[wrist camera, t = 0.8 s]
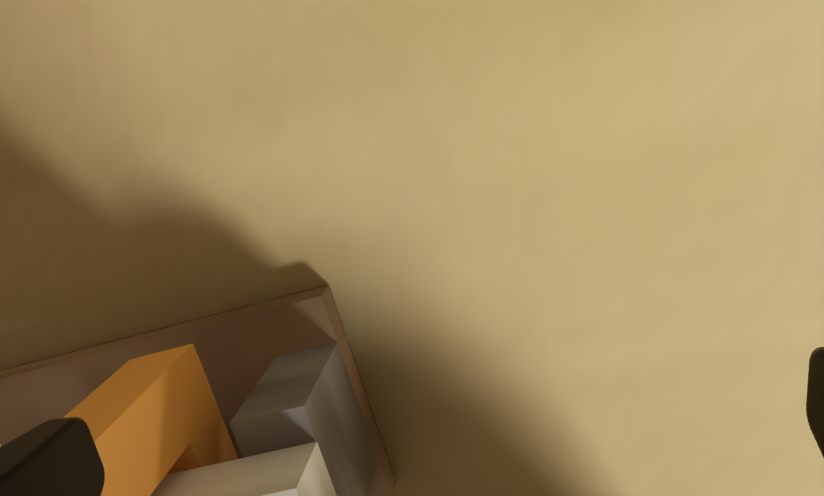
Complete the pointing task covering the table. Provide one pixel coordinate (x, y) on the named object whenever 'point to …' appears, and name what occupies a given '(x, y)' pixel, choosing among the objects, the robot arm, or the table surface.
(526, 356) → the table surface
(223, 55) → the table surface
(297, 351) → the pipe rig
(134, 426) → the collar
